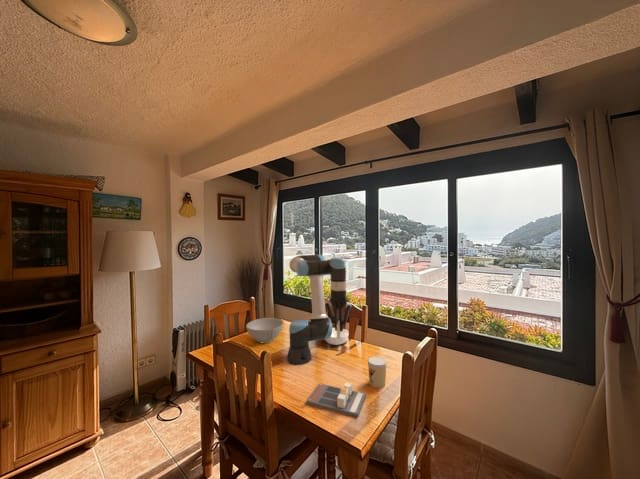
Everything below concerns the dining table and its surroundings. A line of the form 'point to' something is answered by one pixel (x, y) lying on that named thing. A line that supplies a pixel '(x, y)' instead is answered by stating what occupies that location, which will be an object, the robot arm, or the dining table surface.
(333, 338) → the bowl
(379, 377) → the coffee cup
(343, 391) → the breaker toggle
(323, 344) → the dining table surface
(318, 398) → the breaker panel
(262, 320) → the decorative bowl
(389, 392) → the dining table surface
